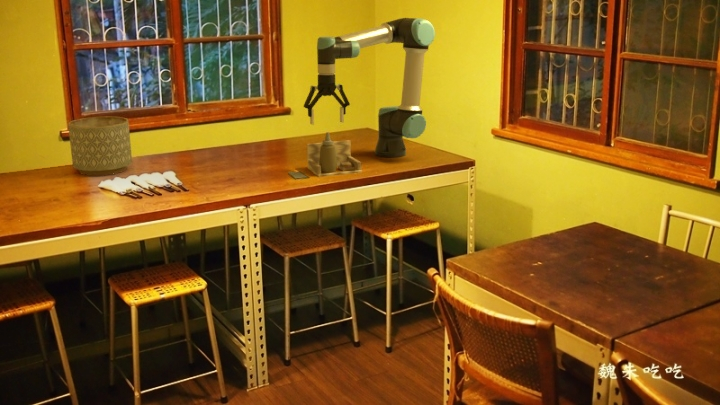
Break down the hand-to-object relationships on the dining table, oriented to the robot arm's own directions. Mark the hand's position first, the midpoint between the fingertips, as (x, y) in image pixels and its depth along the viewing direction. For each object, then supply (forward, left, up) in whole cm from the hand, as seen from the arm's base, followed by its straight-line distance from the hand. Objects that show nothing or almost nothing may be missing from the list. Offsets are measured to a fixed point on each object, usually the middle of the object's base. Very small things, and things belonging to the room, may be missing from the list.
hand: (327, 123), depth 344 cm
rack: (-3, 0, -22) cm, 22 cm away
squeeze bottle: (0, 0, -22) cm, 22 cm away
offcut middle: (-9, 0, -22) cm, 23 cm away
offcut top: (-9, 0, -20) cm, 22 cm away
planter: (+92, -44, -22) cm, 104 cm away
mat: (+12, 0, -22) cm, 25 cm away
